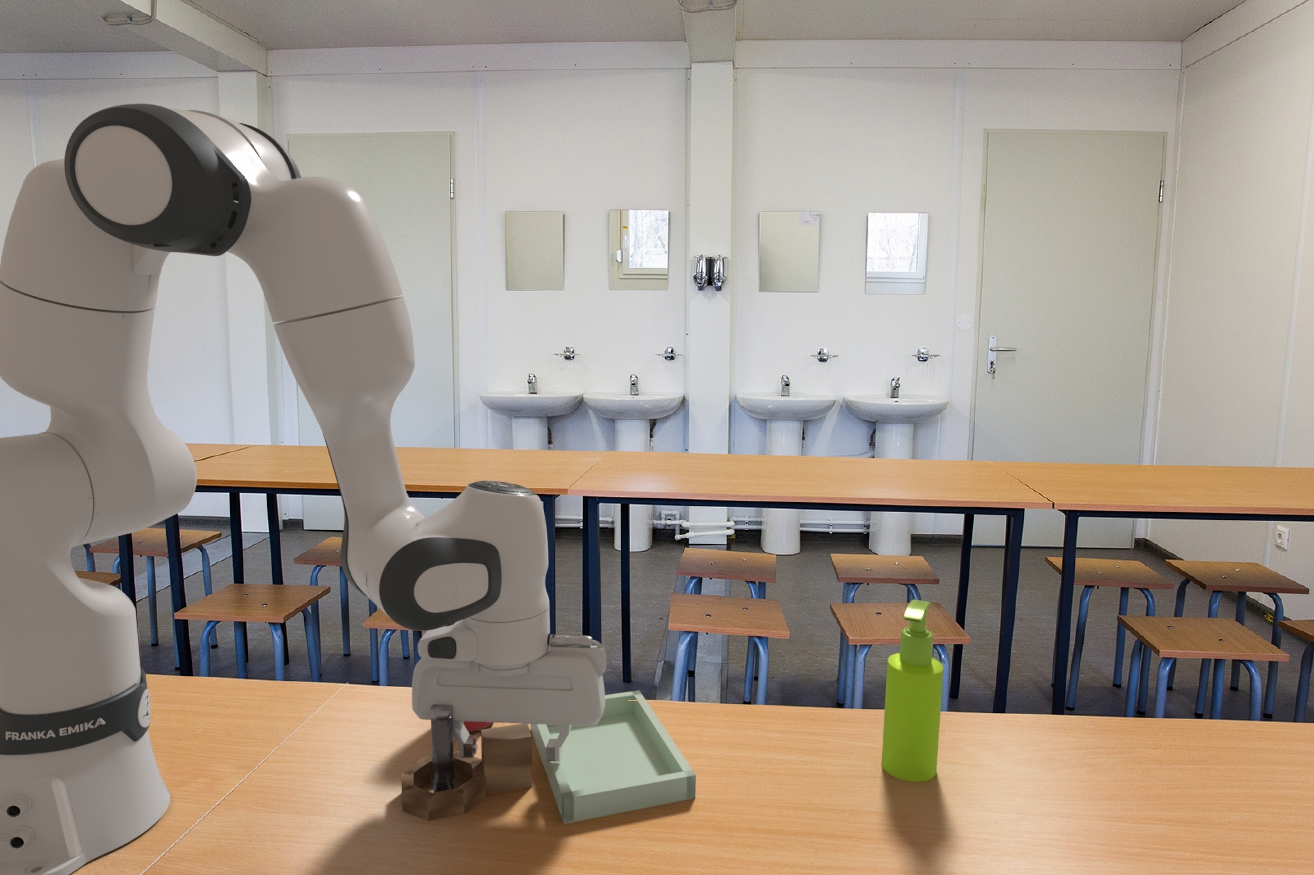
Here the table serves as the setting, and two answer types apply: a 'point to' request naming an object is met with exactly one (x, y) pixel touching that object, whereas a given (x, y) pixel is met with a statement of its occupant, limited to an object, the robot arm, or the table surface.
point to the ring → (472, 774)
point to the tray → (616, 762)
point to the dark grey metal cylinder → (442, 747)
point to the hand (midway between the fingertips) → (511, 757)
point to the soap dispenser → (913, 702)
